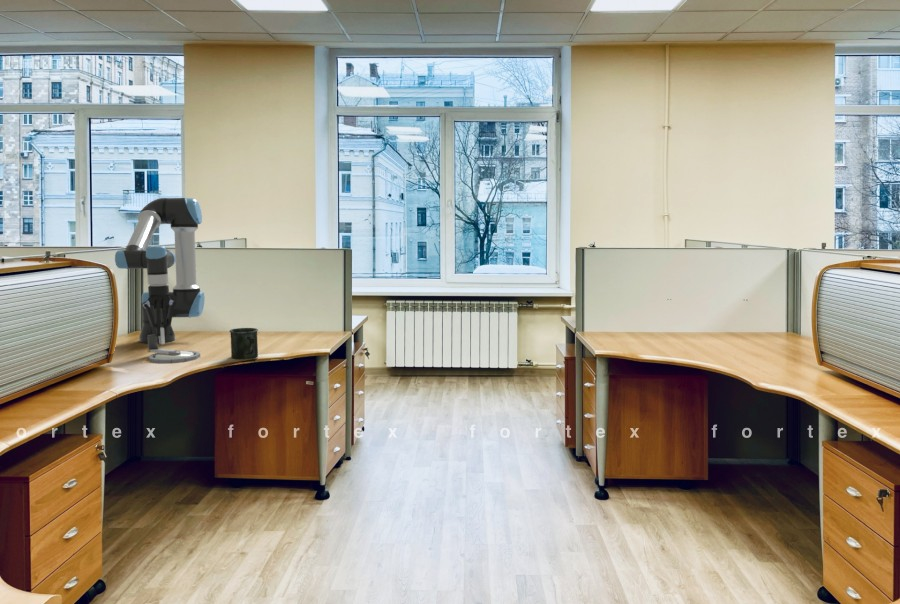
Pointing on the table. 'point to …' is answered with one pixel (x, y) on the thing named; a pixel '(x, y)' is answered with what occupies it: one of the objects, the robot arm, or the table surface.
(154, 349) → the dial
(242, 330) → the mug
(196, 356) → the panel
